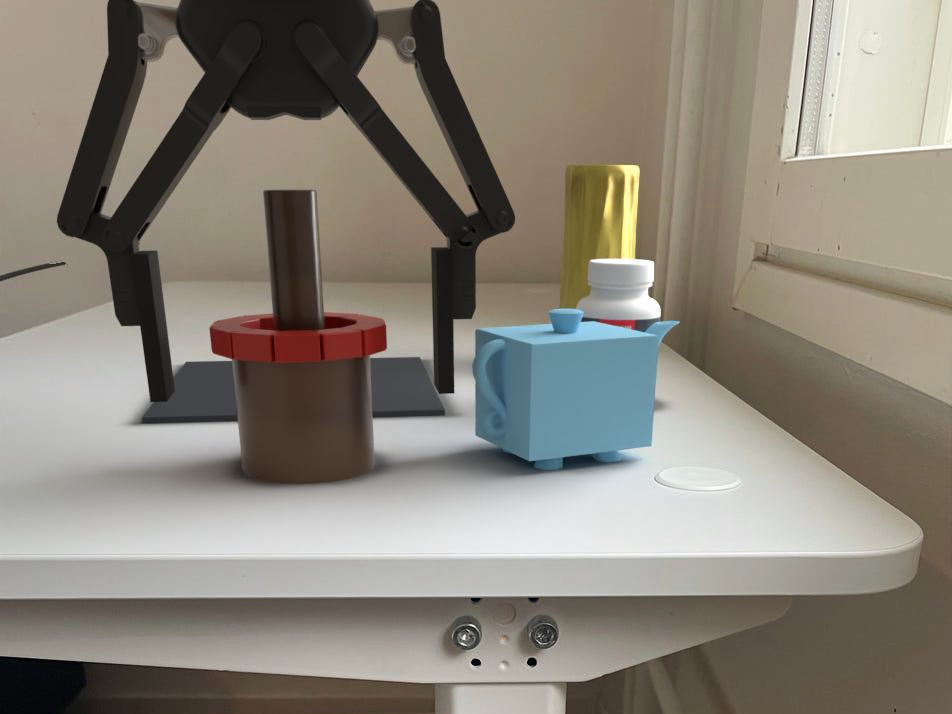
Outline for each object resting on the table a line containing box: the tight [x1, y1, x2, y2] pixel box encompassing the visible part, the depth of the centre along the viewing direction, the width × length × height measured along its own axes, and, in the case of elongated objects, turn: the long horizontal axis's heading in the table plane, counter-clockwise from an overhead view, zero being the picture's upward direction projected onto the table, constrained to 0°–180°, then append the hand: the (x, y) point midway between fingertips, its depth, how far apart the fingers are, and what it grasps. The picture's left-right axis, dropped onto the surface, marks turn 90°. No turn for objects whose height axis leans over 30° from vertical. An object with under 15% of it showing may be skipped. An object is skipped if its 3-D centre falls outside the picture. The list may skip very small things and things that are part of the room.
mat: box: [141, 356, 446, 425], centre depth 70 cm, size 20×18×1 cm
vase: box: [558, 164, 641, 309], centre depth 75 cm, size 6×6×14 cm
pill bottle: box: [576, 258, 661, 333], centre depth 64 cm, size 5×5×9 cm
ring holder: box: [231, 188, 376, 485], centre depth 49 cm, size 7×7×13 cm
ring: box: [208, 311, 388, 363], centre depth 49 cm, size 8×8×1 cm
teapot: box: [471, 308, 681, 471], centre depth 53 cm, size 12×6×8 cm, turn 116°
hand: (305, 393), depth 50 cm, fingers open, 13 cm apart
